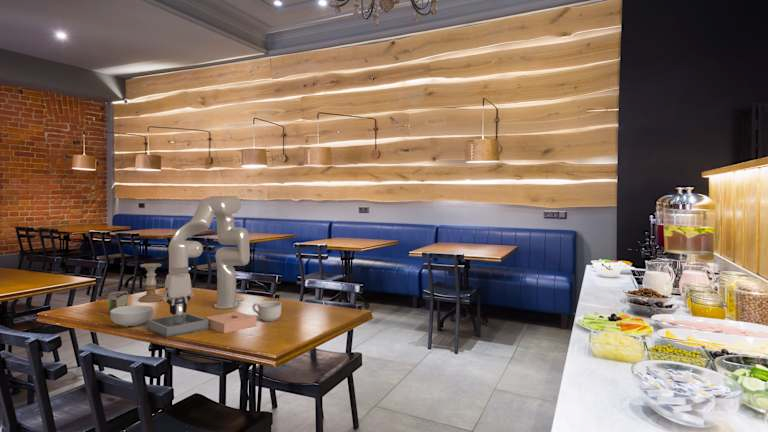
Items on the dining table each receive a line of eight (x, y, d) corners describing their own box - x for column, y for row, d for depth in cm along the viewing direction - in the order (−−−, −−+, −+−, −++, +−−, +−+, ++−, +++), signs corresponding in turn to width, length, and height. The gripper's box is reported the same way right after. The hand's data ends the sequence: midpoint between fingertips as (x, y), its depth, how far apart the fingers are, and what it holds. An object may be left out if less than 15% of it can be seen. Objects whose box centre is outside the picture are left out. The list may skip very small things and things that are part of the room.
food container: (115, 310, 226) (115, 290, 226) (128, 310, 227) (128, 290, 226) (102, 316, 214) (102, 295, 214) (115, 316, 214) (115, 295, 214)
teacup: (285, 318, 217) (285, 302, 216) (273, 323, 206) (273, 306, 206) (261, 315, 221) (261, 299, 221) (247, 320, 211) (247, 303, 211)
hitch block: (236, 319, 212) (236, 311, 212) (256, 325, 202) (256, 317, 202) (204, 326, 200) (204, 317, 200) (224, 333, 190) (224, 323, 190)
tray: (187, 321, 207) (187, 313, 207) (208, 328, 196) (208, 319, 196) (147, 329, 193) (147, 320, 193) (166, 337, 182) (167, 328, 182)
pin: (180, 322, 198) (180, 297, 197) (185, 323, 195) (185, 298, 195) (171, 323, 194) (171, 298, 194) (175, 325, 192) (176, 299, 192)
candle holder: (133, 301, 246) (133, 265, 246) (148, 297, 259) (148, 262, 258) (153, 303, 244) (153, 266, 244) (167, 298, 257) (168, 263, 256)
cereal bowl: (122, 332, 189) (123, 315, 189) (102, 325, 198) (102, 309, 198) (161, 323, 204) (161, 308, 203) (140, 318, 212) (140, 303, 212)
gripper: (192, 268, 203) (192, 308, 203) (154, 272, 190) (154, 315, 190) (201, 270, 198) (201, 311, 199) (163, 274, 185) (162, 318, 186)
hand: (178, 312), depth 195 cm, fingers closed on pin, 4 cm apart
